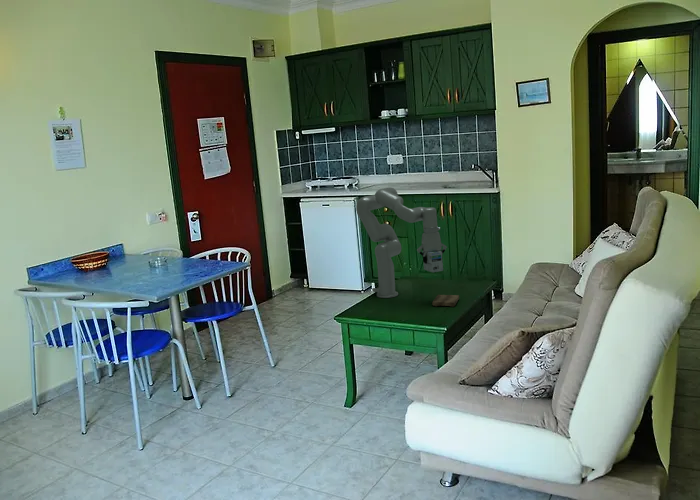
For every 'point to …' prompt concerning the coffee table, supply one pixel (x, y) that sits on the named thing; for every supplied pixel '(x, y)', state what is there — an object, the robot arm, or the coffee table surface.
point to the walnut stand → (445, 300)
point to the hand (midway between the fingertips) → (432, 262)
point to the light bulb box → (434, 261)
